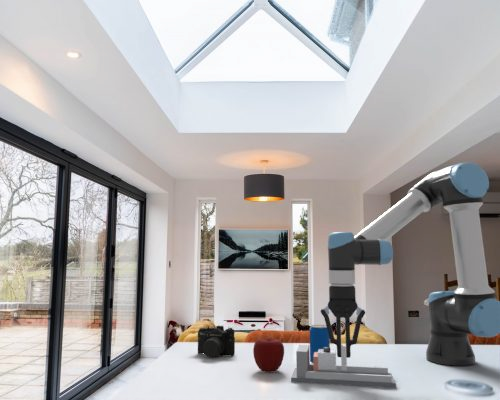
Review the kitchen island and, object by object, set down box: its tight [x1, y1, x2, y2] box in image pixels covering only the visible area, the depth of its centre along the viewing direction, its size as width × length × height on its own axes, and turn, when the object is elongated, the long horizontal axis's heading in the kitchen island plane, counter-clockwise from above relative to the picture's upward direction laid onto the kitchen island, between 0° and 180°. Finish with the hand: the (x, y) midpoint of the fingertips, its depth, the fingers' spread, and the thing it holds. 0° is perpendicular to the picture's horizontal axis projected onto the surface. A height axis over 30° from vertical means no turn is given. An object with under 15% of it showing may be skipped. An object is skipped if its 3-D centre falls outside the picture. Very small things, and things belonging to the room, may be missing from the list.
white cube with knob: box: [318, 346, 337, 373], centre depth 126 cm, size 5×6×7 cm
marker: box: [313, 352, 318, 372], centre depth 126 cm, size 1×6×5 cm, turn 168°
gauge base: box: [290, 344, 397, 389], centre depth 125 cm, size 28×11×8 cm, turn 79°
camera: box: [197, 325, 236, 359], centre depth 155 cm, size 14×11×10 cm
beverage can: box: [309, 324, 331, 364], centre depth 144 cm, size 6×6×12 cm
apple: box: [252, 337, 285, 373], centre depth 134 cm, size 10×10×10 cm
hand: (344, 369), depth 125 cm, fingers closed
